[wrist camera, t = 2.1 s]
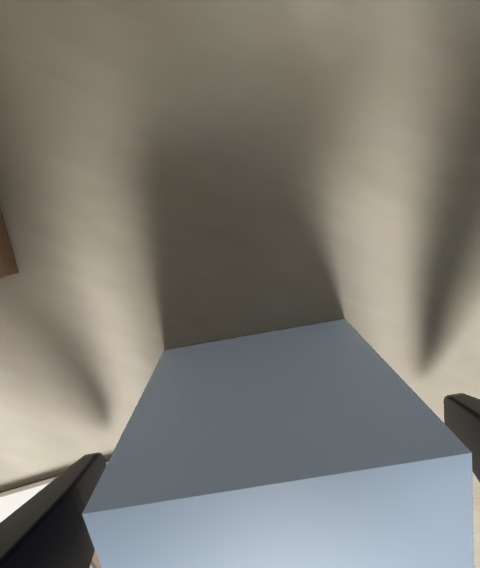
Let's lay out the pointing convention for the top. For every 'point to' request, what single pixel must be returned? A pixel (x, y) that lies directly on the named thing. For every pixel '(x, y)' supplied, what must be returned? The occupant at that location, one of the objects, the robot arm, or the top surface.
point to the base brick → (6, 252)
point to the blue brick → (283, 463)
